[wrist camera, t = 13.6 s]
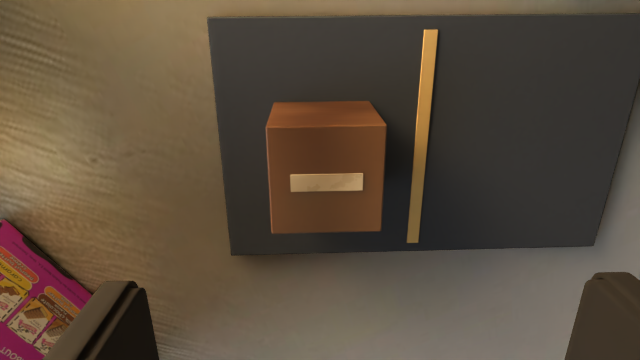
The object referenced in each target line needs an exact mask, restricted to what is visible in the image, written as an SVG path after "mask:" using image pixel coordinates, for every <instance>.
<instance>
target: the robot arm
mask: <svg viewBox="0 0 640 360" xmlns="http://www.w3.org/2000/svg"><path fill="white" fill-rule="evenodd" d="M42 360H159V356H158V351H157V346H156V341H155V335H154V330H153V325H152V320H151V315H150V310H149V304H148V299H147V294H146V291H145V289H144V288H138V286H137V284H136V282H134V281H106V282H104V283H103V284H101V285H100V287H99V288H98V289H97V291H96V292H95V293H94V294H93V296H92V297H91V298H90V299H89V301H88V302H87V303H86V304H85V306H84V307H83V308H82V310H81V311H80V312H79V313H78V315H77V316H76V317H75V318H74V320H73V321H72V322H71V324H70V325H69V326H68V327H67V329H66V330H65V331H64V332H63V334H62V335H61V336H60V337H59V339H58V340H57V341H56V343H55V344H54V345H53V346H52V348H51V349H50V350H49V351H48V353H47V354H46V355H45V356H44V358H43V359H42ZM565 360H640V280H638V279H637V278H636V277H635V276H633V275H632V274H630V273H627V272H601V273H596V274H595V275H594V276H593V277H592V279H591V280H588V281H587V282H586V283H585V286H584V289H583V293H582V297H581V300H580V304H579V308H578V312H577V315H576V319H575V323H574V326H573V330H572V334H571V338H570V341H569V345H568V349H567V353H566V356H565Z"/></svg>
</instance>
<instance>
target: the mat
mask: <svg viewBox="0 0 640 360" xmlns="http://www.w3.org/2000/svg"><path fill="white" fill-rule="evenodd" d="M207 23H208V33H209V43H210V53H211V63H212V72H213V82H214V92H215V102H216V111H217V121H218V131H219V141H220V151H221V160H222V170H223V180H224V190H225V199H226V209H227V219H228V229H229V239H230V248H231V255H271V254H310V253H348V252H387V251H426V250H465V249H504V248H543V247H581V246H594V243H595V239H596V236H597V232H598V228H599V225H600V221H601V218H602V214H603V210H604V207H605V203H606V199H607V196H608V192H609V189H610V185H611V181H612V178H613V174H614V171H615V167H616V163H617V160H618V156H619V153H620V149H621V145H622V142H623V138H624V135H625V131H626V127H627V124H628V120H629V116H630V113H631V109H632V106H633V102H634V98H635V95H636V91H637V88H638V84H639V80H640V13H616V14H496V15H376V16H256V17H207ZM328 101H370V103H371V104H372V106H373V107H374V108H375V110H376V111H377V112H378V114H379V115H380V116H381V118H382V119H383V120H384V122H385V123H386V125H387V137H386V155H385V173H384V192H383V210H382V228H381V231H372V232H330V233H288V234H272V232H271V215H270V198H269V181H268V163H267V146H266V129H265V128H266V125H267V122H268V119H269V116H270V113H271V110H272V107H273V104H274V102H328Z"/></svg>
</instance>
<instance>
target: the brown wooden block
mask: <svg viewBox="0 0 640 360" xmlns="http://www.w3.org/2000/svg"><path fill="white" fill-rule="evenodd" d="M265 129H266V146H267V163H268V181H269V198H270V215H271V232H272V234H288V233H330V232H372V231H381V228H382V210H383V192H384V173H385V155H386V137H387V125H386V123H385V122H384V120H383V119H382V118H381V116H380V115H379V114H378V112H377V111H376V110H375V108H374V107H373V106H372V104H371V103H370V101H328V102H274V104H273V107H272V110H271V113H270V116H269V119H268V122H267V125H266V128H265Z"/></svg>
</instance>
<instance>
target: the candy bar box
mask: <svg viewBox="0 0 640 360" xmlns="http://www.w3.org/2000/svg"><path fill="white" fill-rule="evenodd" d="M92 296H93V295H92V294H90V293H89V292H88V291H87V290H86V289H85V288H83V287H82V286H81V285H80V284H79V283H78V282H76V281H75V280H74V279H73V278H72V277H71V276H70V275H68V274H67V273H66V272H65V271H64V270H63V269H61V268H60V267H59V266H58V265H57V264H56V263H54V262H53V261H52V260H51V259H50V258H48V257H47V256H46V255H45V254H44V253H43V252H42V251H40V250H39V249H38V248H37V247H36V246H35V245H34V244H32V243H31V242H30V241H29V240H28V239H27V238H25V237H24V236H23V235H22V234H21V233H20V232H19V231H18V230H17V229H15V228H14V227H13V226H12V225H11V224H10V223H9V222H7V221H6V220H5V219H2V220H0V360H42V359H43V358H44V356H45V355H46V354H47V353H48V351H49V350H50V349H51V348H52V346H53V345H54V344H55V343H56V341H57V340H58V339H59V337H60V336H61V335H62V334H63V332H64V331H65V330H66V329H67V327H68V326H69V325H70V324H71V322H72V321H73V320H74V318H75V317H76V316H77V315H78V313H79V312H80V311H81V310H82V308H83V307H84V306H85V304H86V303H87V302H88V301H89V299H90V298H91V297H92Z"/></svg>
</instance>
